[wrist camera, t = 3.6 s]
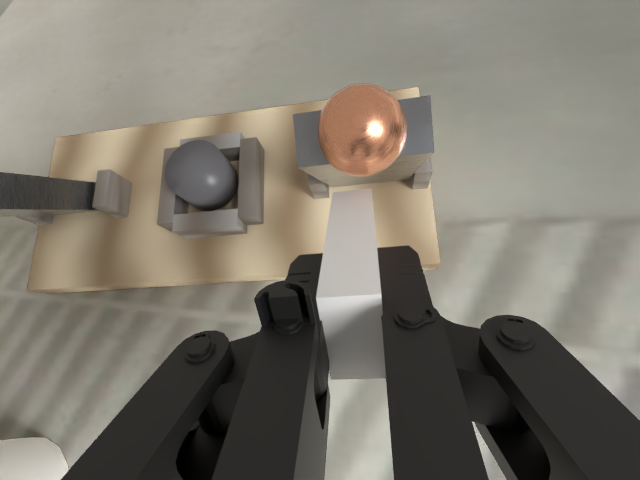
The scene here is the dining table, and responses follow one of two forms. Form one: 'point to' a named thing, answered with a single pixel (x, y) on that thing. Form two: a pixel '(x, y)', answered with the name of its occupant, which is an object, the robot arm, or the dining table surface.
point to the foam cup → (31, 459)
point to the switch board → (207, 226)
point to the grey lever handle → (44, 195)
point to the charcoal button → (201, 175)
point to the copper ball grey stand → (364, 137)
